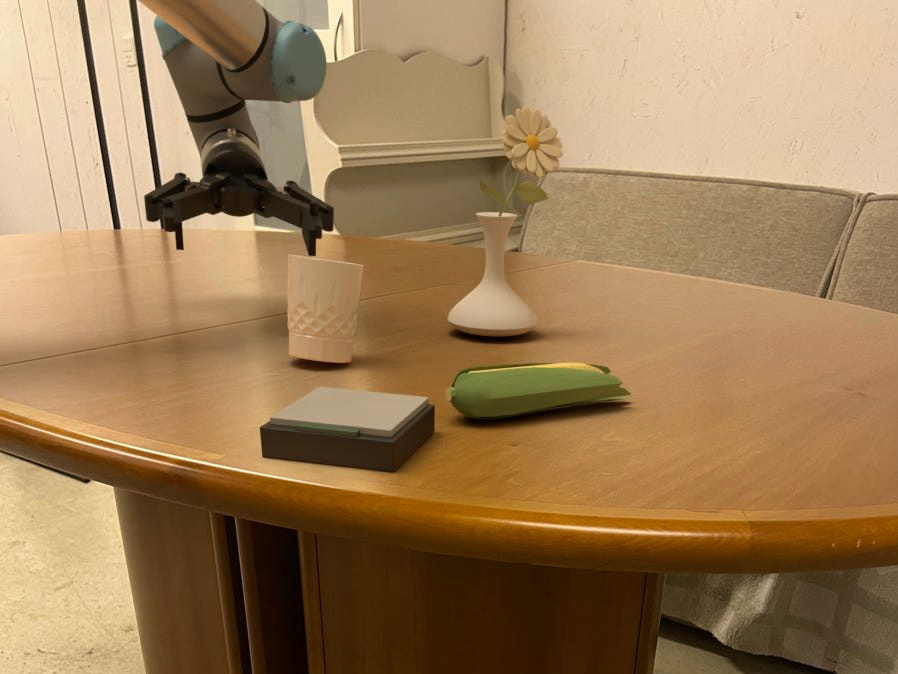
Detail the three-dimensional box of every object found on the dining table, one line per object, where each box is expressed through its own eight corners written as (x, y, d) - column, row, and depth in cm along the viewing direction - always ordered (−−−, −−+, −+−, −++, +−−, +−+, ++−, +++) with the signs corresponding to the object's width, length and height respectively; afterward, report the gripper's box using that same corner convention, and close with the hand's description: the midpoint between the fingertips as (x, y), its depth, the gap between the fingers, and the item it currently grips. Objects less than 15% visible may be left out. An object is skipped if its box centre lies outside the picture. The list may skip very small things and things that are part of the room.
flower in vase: (453, 343, 111) (457, 103, 99) (441, 324, 121) (444, 103, 108) (559, 343, 113) (576, 108, 101) (539, 325, 123) (552, 107, 110)
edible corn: (435, 415, 84) (435, 365, 82) (615, 395, 93) (620, 348, 91) (460, 431, 80) (461, 378, 78) (646, 408, 89) (652, 360, 87)
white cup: (292, 360, 95) (298, 255, 91) (274, 350, 102) (279, 252, 98) (365, 366, 99) (374, 266, 95) (343, 357, 105) (351, 263, 101)
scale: (394, 472, 71) (393, 434, 69) (261, 456, 73) (258, 419, 72) (434, 431, 80) (435, 397, 79) (316, 419, 82) (314, 385, 81)
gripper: (120, 131, 106) (115, 194, 91) (338, 148, 113) (367, 209, 98) (128, 200, 111) (124, 270, 96) (336, 213, 118) (363, 280, 103)
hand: (247, 240), depth 97 cm, fingers open, 13 cm apart
